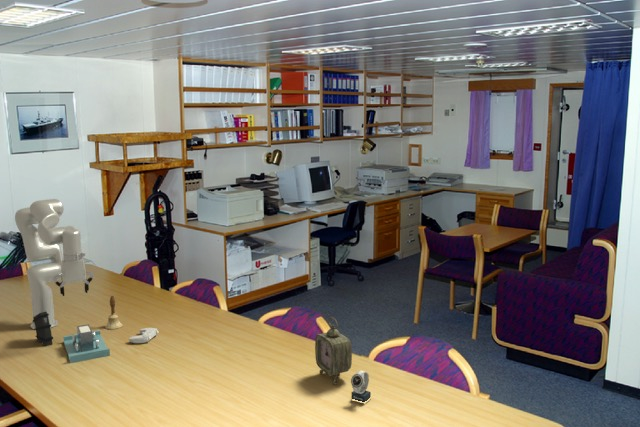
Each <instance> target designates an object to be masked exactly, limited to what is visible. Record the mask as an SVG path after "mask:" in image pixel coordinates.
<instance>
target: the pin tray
mask: <svg viewBox="0 0 640 427" xmlns="http://www.w3.org/2000/svg"><path fill="white" fill-rule="evenodd" d="M92 332H93V345H94V350H90V351H85V352H82V351H81V349H80V346H79V343H78V333H75V334H70V335H64V336H62V337H63V344H64V347H65V350H66V353H67V355H68V356H67V357H68V360H69V363H70V364H73V363H78V362H83V361H87V360H94V359H98V358H105V357H108V356H111V353H110V352H111V351H110V350H111V349H110V347H107V344H106V343H105V340H104V338H103V337H102V334H101V330H100V329H98V330H92Z"/></svg>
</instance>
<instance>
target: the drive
mask: <svg viewBox="0 0 640 427" xmlns="http://www.w3.org/2000/svg"><path fill="white" fill-rule="evenodd" d="M76 330H77V331H76V332H77V333H76V334H78V343H79V346H80V349H81V351H82V352H85V351H90V350H94V345H93V332H92V331H93V330H92V329H91V326H90V324H82V325H78V326H77V325H76Z"/></svg>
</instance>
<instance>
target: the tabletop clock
mask: <svg viewBox="0 0 640 427" xmlns="http://www.w3.org/2000/svg"><path fill="white" fill-rule="evenodd" d="M330 320H333V321H334V322H335V323H336V327H335V324H331V322H330ZM327 322H328V325H329V327H330V328H329V329H328V330H327V331H326V332H324V333H319V334H318V333H317V334H315V335H316V336H315V339H314V340H315V341H314V342H315V344H314V350H315V352H314V354H315V363H316V365H317V366H318V368H319V369H320V370H319V374H320V375H322V374H324V373H325V374H326V375H329V376H333V377H334V380H332V384H333V385H336V384H337V383H338V381H337V377H338V376H339V377H340V376H341V374H342V373H347V372H349V371H350V369H351V368H352V364H353V363H352V362H353V361H352V360H353V359H352V357H353V351H352V350H353V348H352V342H351V339H350V338H348V337H347V336H345V335H344V334H343V333H340V332H339V329H338V328H339V323H338V320H337V319H336V318H334V317H329V318H328V320H327Z"/></svg>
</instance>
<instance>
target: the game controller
mask: <svg viewBox="0 0 640 427" xmlns="http://www.w3.org/2000/svg"><path fill="white" fill-rule="evenodd" d="M139 333H140V334H138V335H133V336H130V337H129V338H128V341H129V342H130V343H132V344H136V345H137V344H138V345H139V344H145V343H148V342H149V341H150V340H151V339H153V338H154V337H155V336H157V335H158V334H160V333H159V329H158V328H155V327H145V328H141V329H139Z"/></svg>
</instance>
